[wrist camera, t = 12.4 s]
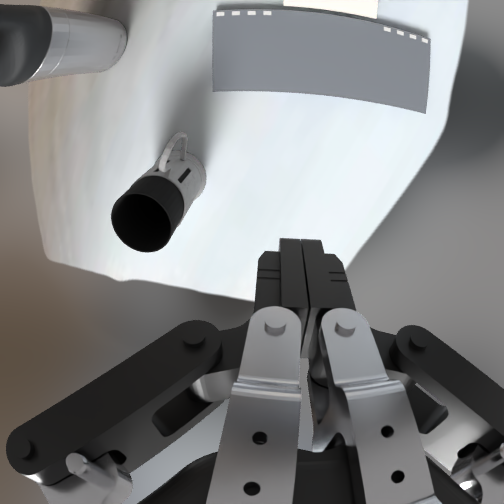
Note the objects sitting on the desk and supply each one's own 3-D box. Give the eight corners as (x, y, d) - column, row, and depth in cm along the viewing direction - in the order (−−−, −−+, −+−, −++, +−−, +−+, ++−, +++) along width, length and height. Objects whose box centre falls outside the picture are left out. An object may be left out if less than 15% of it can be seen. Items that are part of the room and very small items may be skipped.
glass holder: (145, 190, 44) (101, 238, 32) (175, 108, 37) (128, 126, 24) (194, 211, 46) (165, 268, 33) (230, 131, 38) (208, 159, 26)
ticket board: (214, 91, 35) (212, 91, 34) (215, 12, 28) (212, 10, 27) (421, 112, 34) (425, 113, 32) (425, 39, 27) (430, 38, 26)
